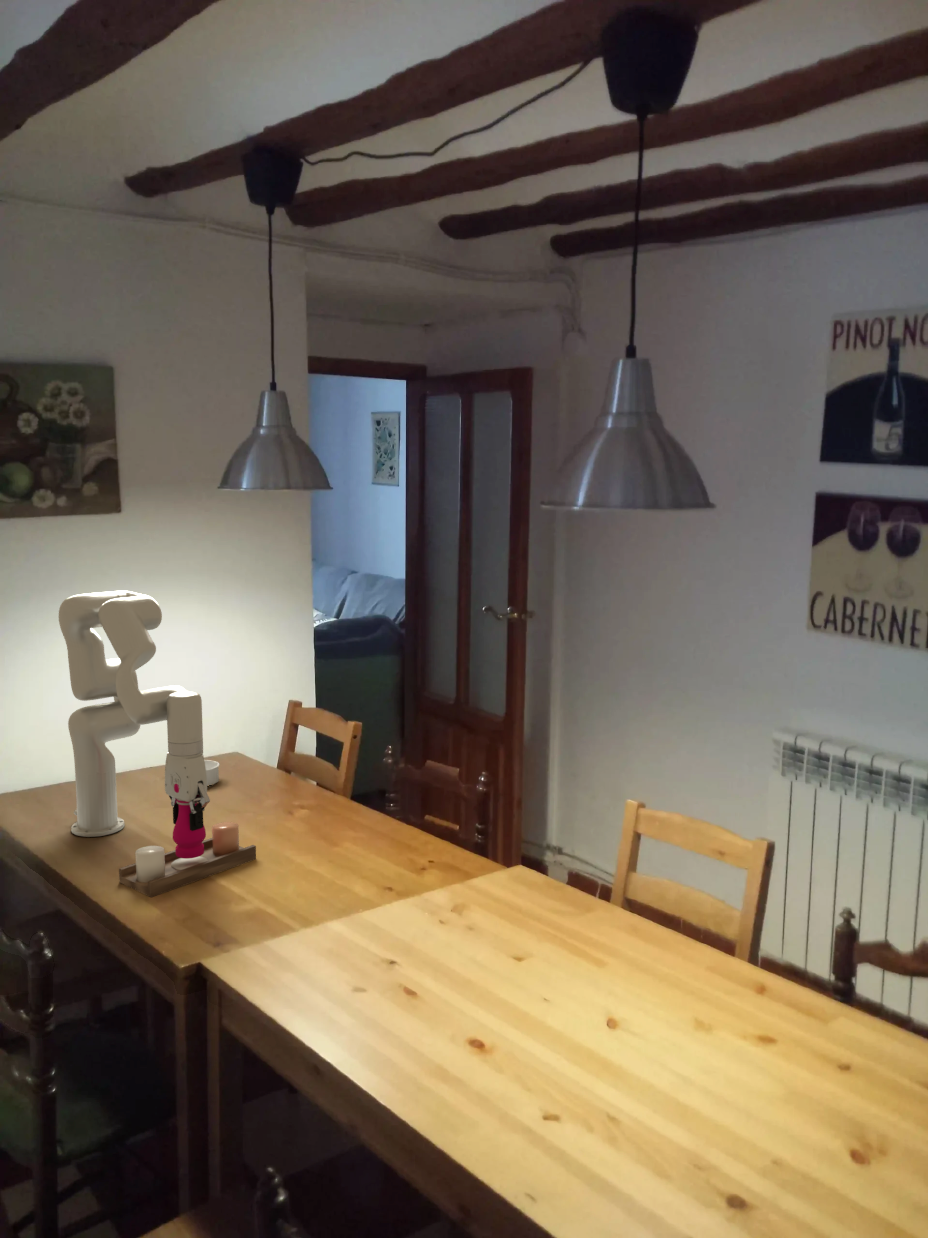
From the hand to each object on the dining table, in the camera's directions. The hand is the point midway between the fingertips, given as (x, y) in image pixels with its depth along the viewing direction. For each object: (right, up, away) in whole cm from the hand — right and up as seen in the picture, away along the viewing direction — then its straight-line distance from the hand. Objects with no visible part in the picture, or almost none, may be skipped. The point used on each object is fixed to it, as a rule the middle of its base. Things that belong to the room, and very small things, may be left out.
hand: (188, 825), depth 224 cm
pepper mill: (0, -7, +1) cm, 7 cm away
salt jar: (-6, -10, -6) cm, 14 cm away
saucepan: (-17, -1, +68) cm, 70 cm away
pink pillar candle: (+6, -8, +9) cm, 14 cm away
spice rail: (0, -11, +2) cm, 11 cm away
